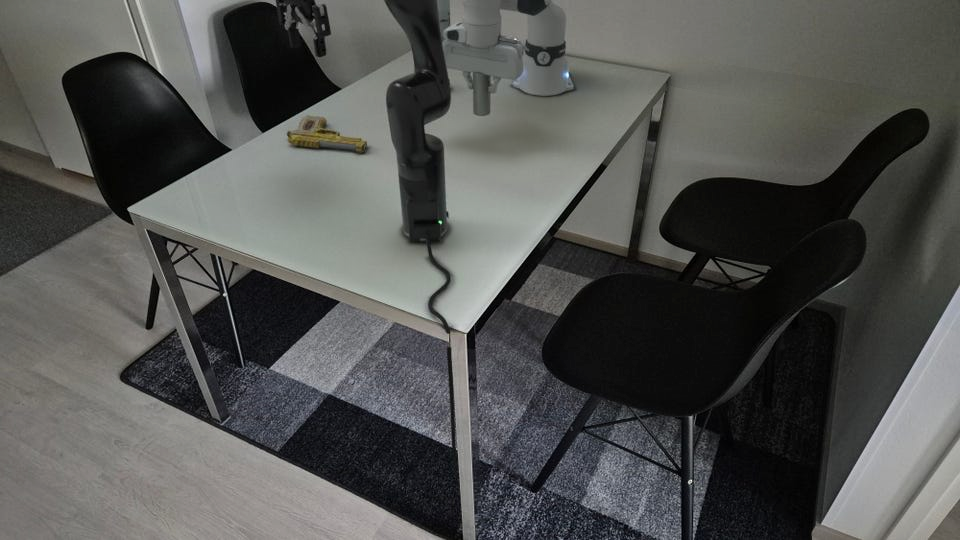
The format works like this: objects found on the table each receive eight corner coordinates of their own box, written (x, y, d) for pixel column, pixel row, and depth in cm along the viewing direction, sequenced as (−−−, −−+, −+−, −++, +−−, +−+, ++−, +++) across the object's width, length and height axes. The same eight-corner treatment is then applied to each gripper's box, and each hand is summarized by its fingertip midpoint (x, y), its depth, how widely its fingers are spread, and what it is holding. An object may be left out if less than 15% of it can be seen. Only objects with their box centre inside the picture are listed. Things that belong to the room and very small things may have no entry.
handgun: (382, 130, 171) (364, 155, 159) (304, 122, 174) (280, 145, 162) (382, 122, 169) (363, 146, 157) (303, 113, 172) (278, 136, 161)
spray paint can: (430, 51, 220) (427, -10, 208) (447, 48, 222) (445, -12, 209) (435, 57, 215) (433, -5, 203) (453, 54, 217) (452, -7, 205)
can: (483, 117, 154) (483, 75, 148) (469, 113, 156) (469, 70, 150) (493, 111, 157) (494, 69, 150) (479, 107, 159) (480, 65, 152)
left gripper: (333, -30, 121) (344, 54, 131) (288, -41, 128) (302, 40, 138) (301, -23, 116) (315, 64, 126) (256, -34, 124) (273, 48, 134)
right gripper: (529, 35, 143) (526, 93, 152) (449, 22, 150) (450, 79, 159) (518, 43, 139) (516, 102, 147) (436, 30, 146) (439, 88, 154)
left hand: (308, 51), depth 132 cm, fingers open, 8 cm apart
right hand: (481, 90), depth 153 cm, fingers closed on can, 4 cm apart
